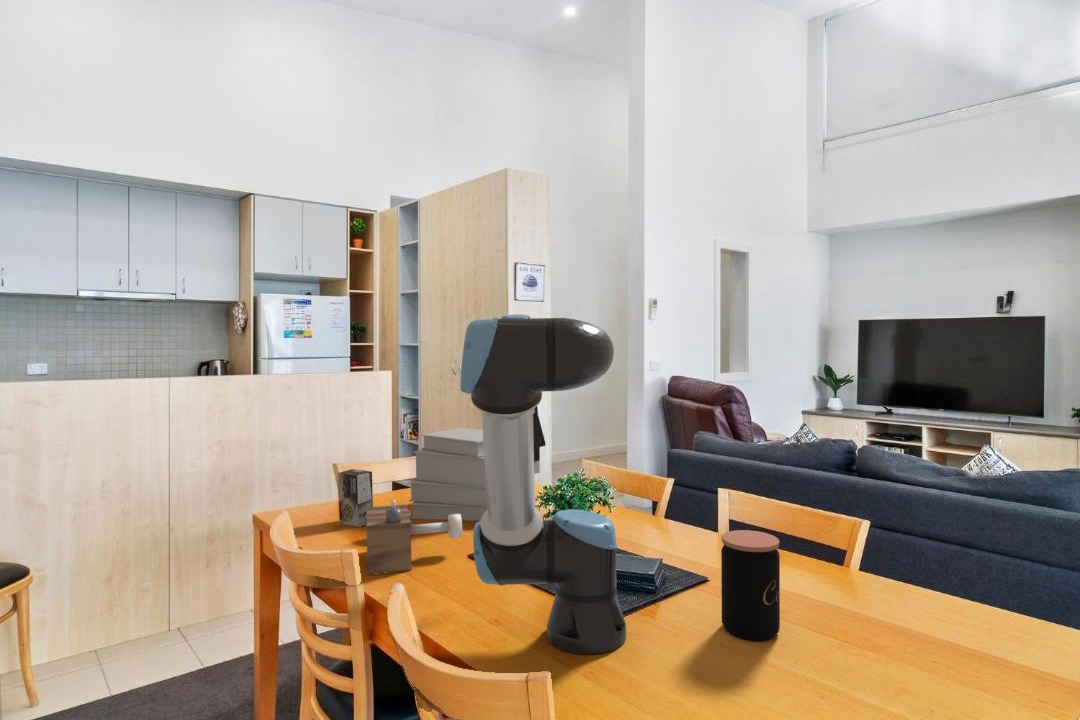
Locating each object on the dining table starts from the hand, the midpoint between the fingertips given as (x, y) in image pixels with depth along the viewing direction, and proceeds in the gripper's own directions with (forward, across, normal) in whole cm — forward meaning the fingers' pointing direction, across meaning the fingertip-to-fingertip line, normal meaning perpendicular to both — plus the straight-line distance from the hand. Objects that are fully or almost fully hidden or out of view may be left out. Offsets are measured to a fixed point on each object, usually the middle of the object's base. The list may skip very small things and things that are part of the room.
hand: (519, 465), depth 156 cm
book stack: (+34, +53, -12) cm, 64 cm away
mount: (+27, +22, +26) cm, 44 cm away
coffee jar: (+21, -55, -19) cm, 62 cm away
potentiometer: (+14, +17, +26) cm, 34 cm away
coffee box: (+32, +61, +24) cm, 73 cm away
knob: (+23, +20, +15) cm, 34 cm away
